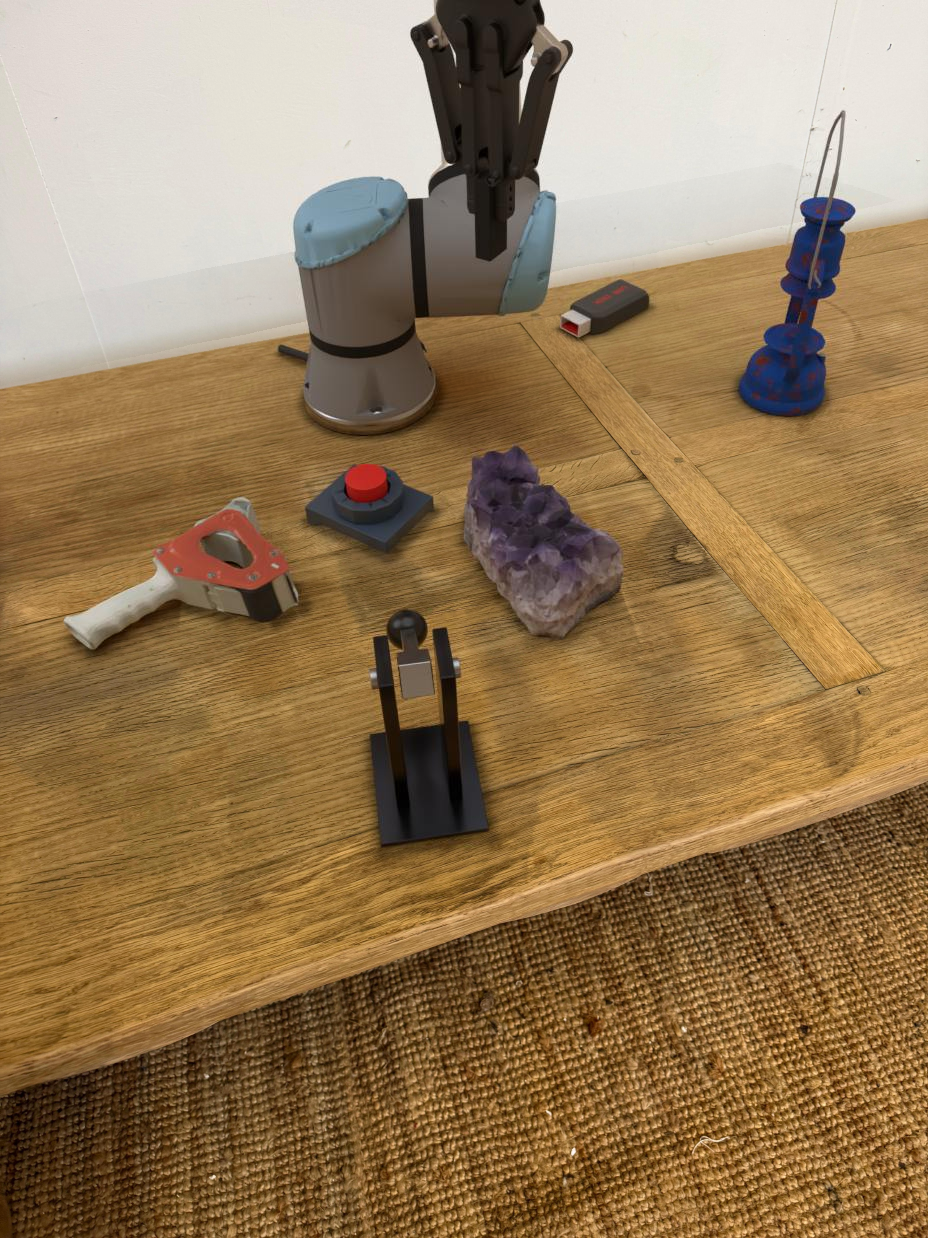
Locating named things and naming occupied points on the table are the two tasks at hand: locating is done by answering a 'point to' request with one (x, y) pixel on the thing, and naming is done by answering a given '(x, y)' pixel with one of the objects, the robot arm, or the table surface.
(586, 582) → the geode
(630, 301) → the usb drive
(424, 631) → the switch lever
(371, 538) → the button box
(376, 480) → the button
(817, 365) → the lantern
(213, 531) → the tape dispenser
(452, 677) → the switch bracket
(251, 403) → the table surface
